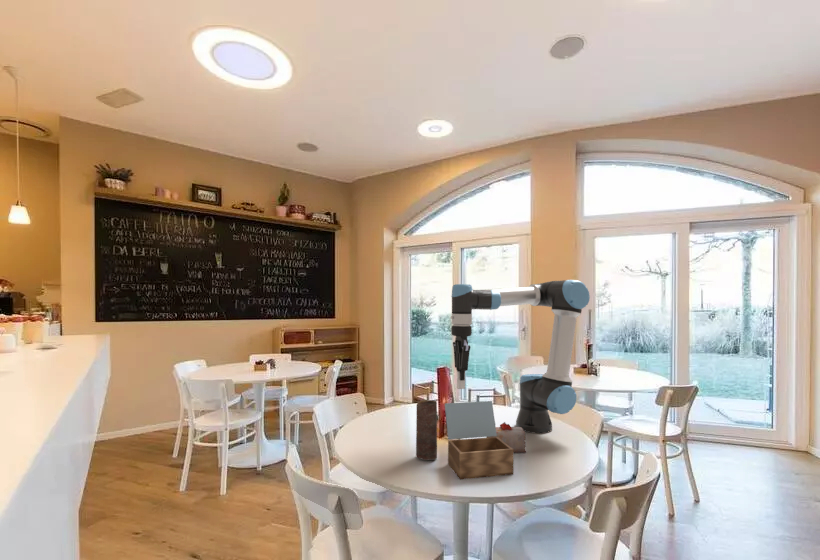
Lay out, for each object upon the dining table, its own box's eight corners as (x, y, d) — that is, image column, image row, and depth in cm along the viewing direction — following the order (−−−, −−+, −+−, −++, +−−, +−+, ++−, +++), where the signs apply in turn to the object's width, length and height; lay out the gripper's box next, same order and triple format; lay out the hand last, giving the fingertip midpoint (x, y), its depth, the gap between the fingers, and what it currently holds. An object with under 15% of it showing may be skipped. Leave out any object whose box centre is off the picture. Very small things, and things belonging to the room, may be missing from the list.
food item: (489, 454, 149) (489, 427, 149) (485, 446, 157) (485, 420, 157) (527, 454, 149) (527, 427, 149) (520, 446, 157) (520, 420, 157)
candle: (430, 465, 139) (430, 405, 140) (411, 460, 143) (412, 401, 144) (440, 457, 145) (441, 400, 146) (422, 453, 149) (423, 397, 150)
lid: (496, 435, 144) (495, 436, 145) (492, 401, 148) (491, 401, 149) (448, 439, 140) (448, 439, 141) (445, 403, 144) (444, 403, 145)
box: (497, 460, 143) (497, 436, 144) (513, 474, 132) (513, 449, 132) (448, 464, 139) (448, 440, 140) (460, 479, 128) (460, 453, 128)
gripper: (446, 324, 160) (445, 385, 159) (457, 326, 148) (457, 392, 147) (464, 324, 162) (464, 384, 161) (477, 326, 149) (476, 392, 148)
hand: (460, 388), depth 154 cm, fingers closed
